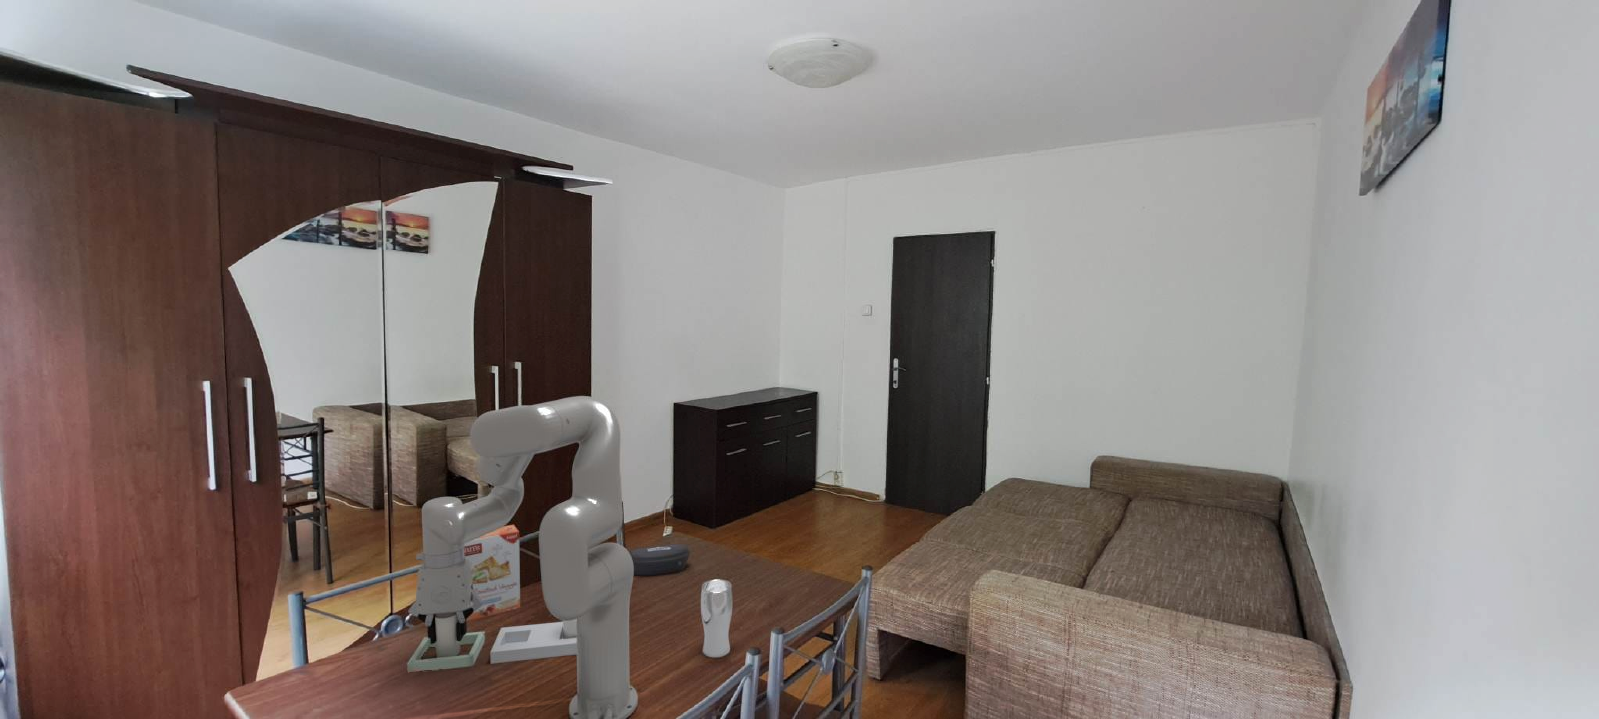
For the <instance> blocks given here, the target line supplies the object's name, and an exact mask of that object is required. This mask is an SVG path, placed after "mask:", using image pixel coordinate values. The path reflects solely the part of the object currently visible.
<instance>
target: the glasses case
mask: <svg viewBox="0 0 1599 719" xmlns="http://www.w3.org/2000/svg"><path fill="white" fill-rule="evenodd" d="M629 553H630V555H631V557H632V560H633V566H634V575H636V576H642V577H643V576H645V577H646V576H647V577H648V576H659V575H667V574H672V573H677V572H680V571H682V570H684V569H685V568H686V566H687V562H688V560H689V558H690V554H691V552H690V549H689V547H688V546H687V545H685V544H682V543H681V544H680V543H679V544H670V545H669V544H667V545H661V546H660V545H658V546H651V547H645V548H638V549H634V550H632V551H630V552H629Z"/></svg>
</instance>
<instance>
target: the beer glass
mask: <svg viewBox="0 0 1599 719" xmlns="http://www.w3.org/2000/svg"><path fill="white" fill-rule="evenodd" d="M732 587H733V586H732V583H731V582H730V581H728V580H725V579H719V578H717V579H715V578H714V579H710V580H706V581H705V582H703V584H701V594H700V614H701V620H702V626H703V632H704V638H703V639H704V641H703V646H702V653H703V655H704V656H706V657H709V658H712V659H713V658H715V659H716V658H722V657H725V656H727V654H729V653H730V651H731V645H730V641H729V631H730V625H731V620H732V614H733V613H732V612H733V590H732Z"/></svg>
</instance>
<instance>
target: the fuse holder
mask: <svg viewBox="0 0 1599 719" xmlns="http://www.w3.org/2000/svg"><path fill="white" fill-rule="evenodd" d="M489 654H490V664H491V665H493V664H500V663H511V662H518V661H527V660H528V661H529V660H536V659H537V660H538V659H546V658H557V657H564V656H565V657H566V656H572V655H573V656H574V655H577V638H568V639H563V621H558V622H546V623H537V624H528V625H527V624H526V625H517V626H507V627H500V630H499V632H498V634H497V636H496V639H495V640H494V643H493V645H492V648H491V650H490V652H489Z"/></svg>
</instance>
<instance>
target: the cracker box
mask: <svg viewBox="0 0 1599 719" xmlns="http://www.w3.org/2000/svg"><path fill="white" fill-rule="evenodd" d="M464 549H465V558H467V559H468V561H469V564H470V568H471V573H472V579H473V587H474V591H475V593H476V594H477V595H478V596H479V597H480V598H481V599H482V600H483V602H484V603H483V605H482V606H481V607H480V608H479V609H477V610H476V611H474V612H473V613H472V614H471V615H470V616H469V617H468V618H467V619H466V622H467V623H468V622H472V621H475V620H479V619H482V618H487V617H491V616H494V615H498V614H503V613H506V612H508V611H514V610H516V609H517V610H518V609H520V608H521V583H520V582H521V581H520V580H521V579H520V577H521V576H520V575H521V574H520V572H521V571H520V563H521V562H520V531H519V530H518V528H517V527H516V526H515V524H508V525H505V526H503V527H502V528H500V529H498V530H495V531H493V532H490V533H488V534H486V535H483V536H481V537H479V538H477V539H474V540H472V541H469V542H467V543H464ZM471 605H473V602H472V601H471V603H470V606H471ZM470 606H469V607H470ZM469 607H468V608H469Z"/></svg>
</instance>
